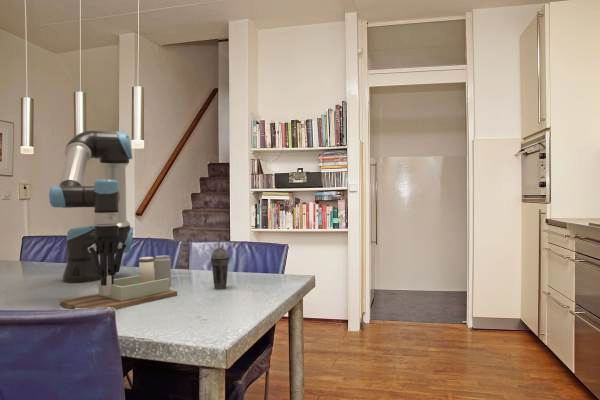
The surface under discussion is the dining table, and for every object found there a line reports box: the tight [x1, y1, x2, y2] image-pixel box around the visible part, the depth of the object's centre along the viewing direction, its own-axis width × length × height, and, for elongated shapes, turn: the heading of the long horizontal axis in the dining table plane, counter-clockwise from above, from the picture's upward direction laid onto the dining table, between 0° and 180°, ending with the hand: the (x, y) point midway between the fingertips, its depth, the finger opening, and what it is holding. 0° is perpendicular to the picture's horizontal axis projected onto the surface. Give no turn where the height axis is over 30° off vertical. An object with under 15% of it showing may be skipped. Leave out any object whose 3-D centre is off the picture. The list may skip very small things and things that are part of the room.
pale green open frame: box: [97, 275, 171, 301], centre depth 153 cm, size 15×19×4 cm
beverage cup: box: [210, 237, 230, 290], centre depth 168 cm, size 7×7×20 cm
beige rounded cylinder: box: [138, 256, 155, 283], centre depth 157 cm, size 5×5×12 cm
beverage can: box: [154, 254, 172, 286], centre depth 172 cm, size 6×6×12 cm
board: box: [59, 289, 178, 310], centre depth 149 cm, size 20×32×3 cm, turn 142°
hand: (107, 294), depth 145 cm, fingers closed
